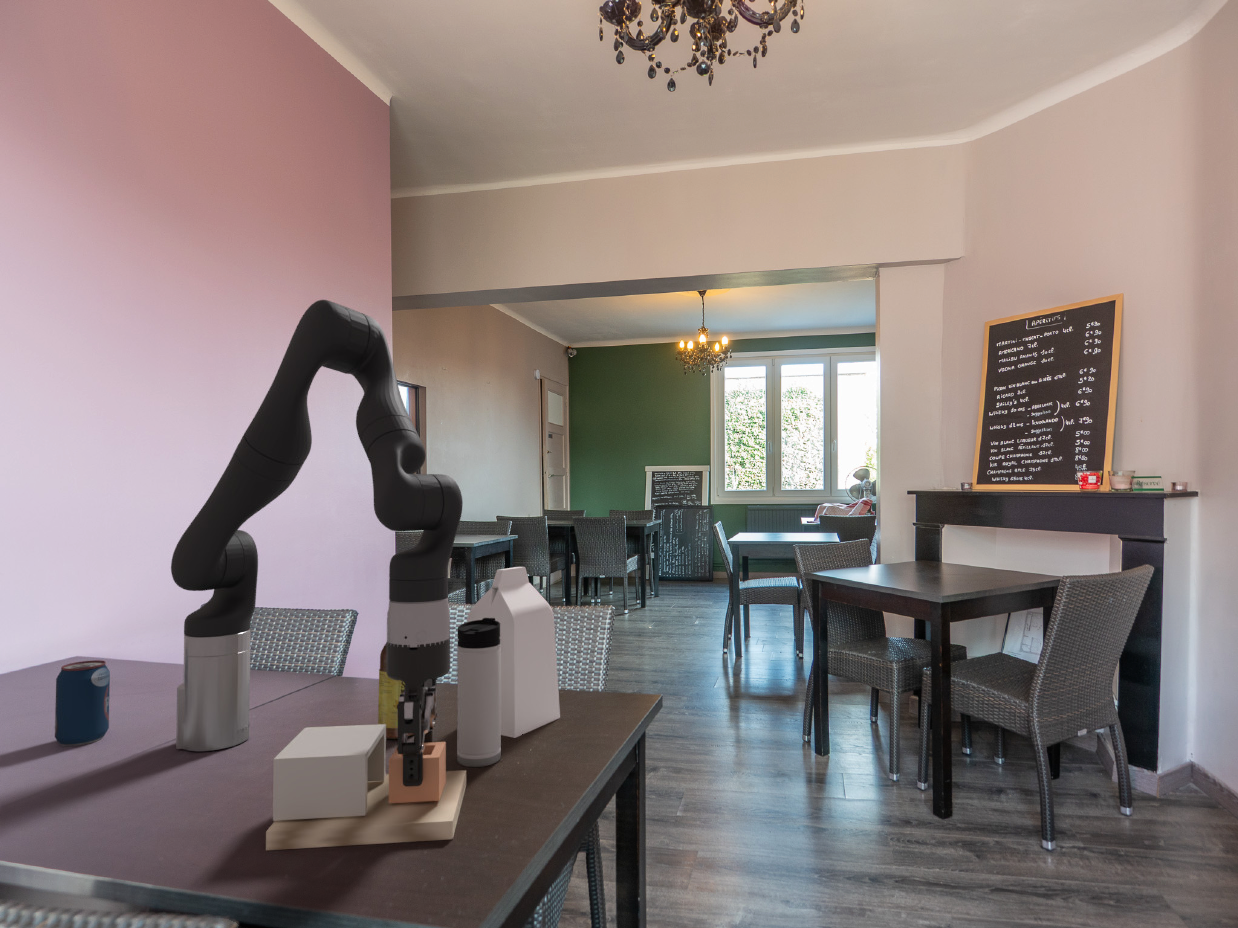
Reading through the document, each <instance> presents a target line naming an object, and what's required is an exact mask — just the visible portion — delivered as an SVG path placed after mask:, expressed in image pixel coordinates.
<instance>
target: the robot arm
mask: <svg viewBox="0 0 1238 928" xmlns="http://www.w3.org/2000/svg"><path fill="white" fill-rule="evenodd" d="M322 367H323V368H326V369H330V370H333V371H336V372H340V373H343V374H346V375H352V376H353V377H354V378H355V380H356V381H357V382H358V384H359V385H360V387H361V388H362V391H363V396H362V398H361V400H360V403H359V404H358V405H359V406H358V407H357V410H356V416H355V426H356V431H357V436H358V438H359V441H360V443H361V446H362V448H363V450H364V452H365V454H366V457H367V459H368V461H369V464H370V469H371V478H372V491H373V509H374V510H373V511H374V514H375V516H376V518H377V520H378V521H379V522H380V523H381V525H382V526H384V527H385V528H387V530H390V531H393V532H414V531H417V532H419V531H422V534H421V537H420V538H419V541H418V542H417V544H416V545H415V546H414V547H411V548H409V549H406V550H402V551H399V552H397V553H395V554H394V555H392V557H391V558H390V561H389V566H388V567H389V569H388V570H389V573H388V579H389V581H388V585H389V586H388V587H389V588H388V600H389V602H388V610H387V612H388V615H386V616H387V617H386V642H387V676H388V677H389V678H391V679H393V680H397V681H398V680H401V681H403V682H404V683H405V688H404V691H403V694H400V697H399V702H398V705H397V709H398V739H397V746H396V748H397V751H398V754H403V785H404V786H406V787H409V786H420V785H421V784H422V781H423V750H424V749H425V746H424V743H429V742H434V741H433V730H435V729H434V728H435V727H436V722H435V721H436V720H437V719H436V718H437V717H438V712H437V711H438V707H437V697H438V687H437V680H438V679H439V678H443V677H444V676H446V675H447V674H448V673H449V672H450V670H451V614H450V605H449V563H450V559H451V555H452V552H453V548H454V544H455V539H456V535H457V533H458V529H459V525H460V522H461V519H462V518H461V517H462V513H463V495H462V492H461V491H462V490H461V489H460V487H459V485H458V483H457V482H456V481H455V480H454V478H453V477H451V476H450V475H447V474H442V473H440V474H439V473H437V474H436V473H435V474H434V473H428V474H427V473H417V472H418V471H419V470H420V469H421V468H422V467H423V466H424V464H425V461H426V455H427V454H426V450H425V446H424V444H423V442H422V440H421V437H420V436H419V434H418V432H417V430H416V427H415V425H414V423H413V421H412V420H411V419H412V418H411V417H410V415H409V413H408V410H407V409H406V407H405V404H404V401H403V399H402V395H401V391H400V388H399V384H398V380H397V375H396V371H395V367H394V364H393V359H392V355H391V351H390V347H389V343H388V340H387V338H386V335H385V332H384V330H383V328H382V326H381V324H380V323H379V322H378V321H377V320H376V319H375V318H373V317H371V316H369V315H367V314H365V313H363V312H360V311H358V310H355V309H352V308H349V307H347V306H344V305H341V304H339V303H336V302H335V301H331V300H327V299H319V300H316V301H314V302H313V303H311V304H310V306H308V308H307V309H306V310H305V312H304V313H303V315H302V316H301V317H300V320H299V322H298V324H297V325H296V327H295V330H294V332H293V334H292V336H291V339H290V342H289V343H288V346H287V349H286V351H285V353H284V355H283V357H282V360H281V362H280V365H279V366H278V370H277V372H276V374H275V377H274V379H273V381H272V383H271V385H270V387H269V389H268V390H267V392H266V395H265V397H264V398H263V400H262V402H261V404H260V406H259V407H258V410H257V411H256V413H255V415H254V416H253V418H252V420H251V422H250V423H249V425H248V427H247V428H246V430H245V431H244V433H243V435H242V437H241V439H240V441H238V442H239V443H238V444H237V447H236V448H235V450H234V452H233V454H232V456H231V458H230V461H229V462H228V464H227V466H226V468H225V470H224V472H223V473H222V474H221V477H220V478H219V480H218V481H217V483H216V485H215V487H214V488H213V490H212V492H211V493H210V495H209V497H208V498H207V500H206V501H205V503H204V504H203V506H202V507H201V509H200V510H199V511H198V513H197V514H196V515H195V516H194V518H193V519H192V521H191V522H190V523H189V525H188V527H187V528H186V530H184V533H183V534H182V536H181V537H180V539H178V542H177V543H176V546H175V549H174V551H173V554H172V558H171V562H170V563H171V564H170V571H171V577H172V580H173V582H174V583H175V584H176V586H178V587H179V588H180V589H183V590H185V591H191V592H196V591H197V592H205V591H211V590H213V593H212V596H211V598H210V599H209V600H208V601H207V602H206V603H205V604H203V606H201V607H200V608H198V609H196V610H195V611H192V612H191V613H190V614H188V615H187V616H186V618H185V619H184V625H183V674H182V675H183V683H181V684H179V685H178V686H177V688H176V690H177V691H176V736H175V737H176V739H175V746H176V747H175V749H176V750H185V751H190V752H209V751H215V750H217V751H218V750H222V749H227V748H230V747H234V746H236V745H237V746H238V745H239V744H242V743H243V742H245V741H247V740H248V739H249V737H250V699H251V698H250V688H251V687H250V685H251V683H250V682H251V679H250V678H251V621H252V618H253V615H254V613H255V610H256V600H257V585H258V572H259V554H258V549H257V545H256V542H255V539H254V538H253V537H252V535H251V534H249V533H248V532H247V531H244V530H240V528H241V527H242V526H243V525H244V524H245V523H246V522H247V520H249V519H250V518H251V517H253V516H254V515H255V514H257V513H258V512H260V511H261V510H262V509H264V508H265V507H266V506H268V505H269V504H271V502H273V501H274V500H276V499H277V498H278V497H280V495H282V494H283V493H284V492H285V491H287V489H289V487H290V486H291V485H292V483H294V481H295V479H296V478H297V476H298V474H299V473H300V471H301V469H302V467H303V466H304V463H305V462H306V460H307V458H308V457H309V455H310V452H311V450H312V443H313V442H312V441H313V440H312V438H313V435H312V427H311V420H310V416H309V408H308V407H309V406H308V395H309V391H310V389H311V385H312V383H313V381H314V379H315V377H316V375H317V373H318V372H319V370H320V369H321V368H322ZM411 733H414V734H413V741H411V742H410V741H409V740H408V738H409V736H408V735H409V734H411ZM408 741H409V742H408Z"/></svg>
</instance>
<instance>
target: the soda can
mask: <svg viewBox="0 0 1238 928" xmlns="http://www.w3.org/2000/svg"><path fill="white" fill-rule="evenodd" d="M106 663H107V662H106V660H100V659H99V660H94V659H93V660H85V661H84V660H83V661H78V662H77V661H76V662H71V663H66V664H64V665H62V666H61V668H60V669H61V670H60V672H59V674H58V675H57V677H56V679H55V713H54V738H55V740H56V741H57V743H58V744H59V745H60V746H63V747H77V746H78V747H79V746H83V745H89V744H92V743H95V742H98V741H100V740H103V739H104V737H105V735H106V734H107V732H108V730H109V729H110V690H111V689H110V687H111V686H110V680H111V671H110V669H109V668H108V666H107V664H106Z"/></svg>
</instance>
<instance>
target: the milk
mask: <svg viewBox="0 0 1238 928" xmlns="http://www.w3.org/2000/svg"><path fill="white" fill-rule="evenodd" d="M483 618H495V621H498V622H499V623H500V637H499V638H500V643H501V646H500V648H501V736H504V737H509V738H514V739H515V738H518V737H520V736H523V735H525V734H527V733H529V732H532V731H533V730H536V729H538V728H540V727H542V726H545V725H548V724H549V723H552V722H554V721H556V720H558V719H560V718H561V710H560V695H559V694H560V693H559V676H558V663H557V645H556V631H555V616H554V611H553V609H552V607H551V604H549V603H548V601H547V600H546V599H545V598H544V597H543V596H542V594H541V593H540V592H539V591H538V590H537V589H536V588H535V586H533V584H532V583H531V582H530V581H529V577H528V572H527V568H526V567H525V566H514V567H509V568H508V567H507V568H501V569H496V571H495V575H494V579H493V582H492V585H491V587H490V588H489V589H488V590H487V591H486V592H485V594H484V595H482V597H481V598H480V599H479V600H478V601H477V602H475V604H474V605H473V606H472V608H471V609H470V610H469V612H468V614H467V619H466V622H470V621H475V620H482V619H483ZM522 734H523V735H522Z"/></svg>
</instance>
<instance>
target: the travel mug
mask: <svg viewBox="0 0 1238 928" xmlns="http://www.w3.org/2000/svg"><path fill="white" fill-rule="evenodd" d="M499 637H500V623H499V622H498V621H495V618H483V619H482V620H475V621H470V622H467V621H466V622H464V623H461V624H460V625H459V626H458V627H457V645H456V646H457V647H456V648H457V651H456V652H457V653H456V654H457V655H456V657H457V658H456V661H457V662H456V663H457V664H456V665H457V666H456V667H457V670H456V674H457V675H456V676H457V677H456V679H457V681H456V683H457V684H456V685H457V686H456V691H457V693H456V699H457V700H456V702H457V703H456V705H457V706H456V710H457V711H456V712H457V713H456V714H457V715H456V720H457V721H456V722H457V723H456V726H457V727H456V733H457V734H456V737H457V738H456V739H457V740H456V743H457V744H456V745H457V746H456V749H457V751H456V761H457V763H458V764H459V765H462V766H463V767H469V768H481V767H487V766H490V765H493V764H495V763H497V762H499V760H501V758H502V755H501V754H502V752H501V751H502V749H501V746H502V742H501V739H502V737H501V736H502V735H501V648H500V646H501V643H500V638H499Z"/></svg>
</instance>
